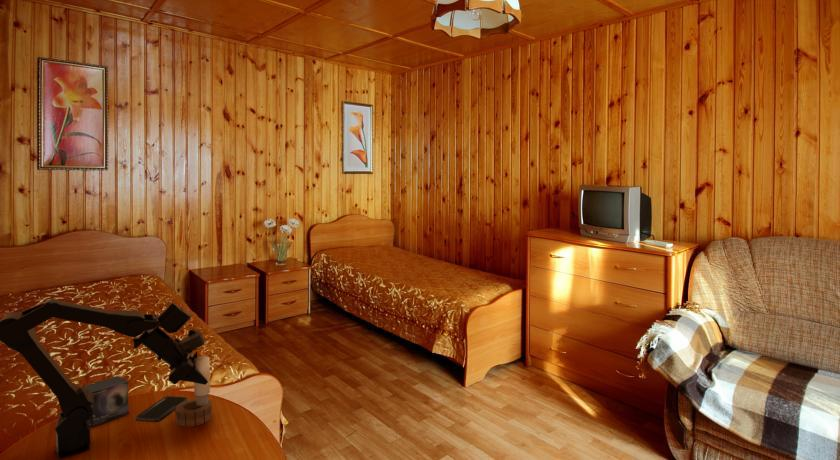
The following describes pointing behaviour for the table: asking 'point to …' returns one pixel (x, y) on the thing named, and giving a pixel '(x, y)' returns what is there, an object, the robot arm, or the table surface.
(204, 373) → the tapered rounded pillar
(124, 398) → the small box
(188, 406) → the segmented block ring
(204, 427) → the table surface
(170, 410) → the phone
